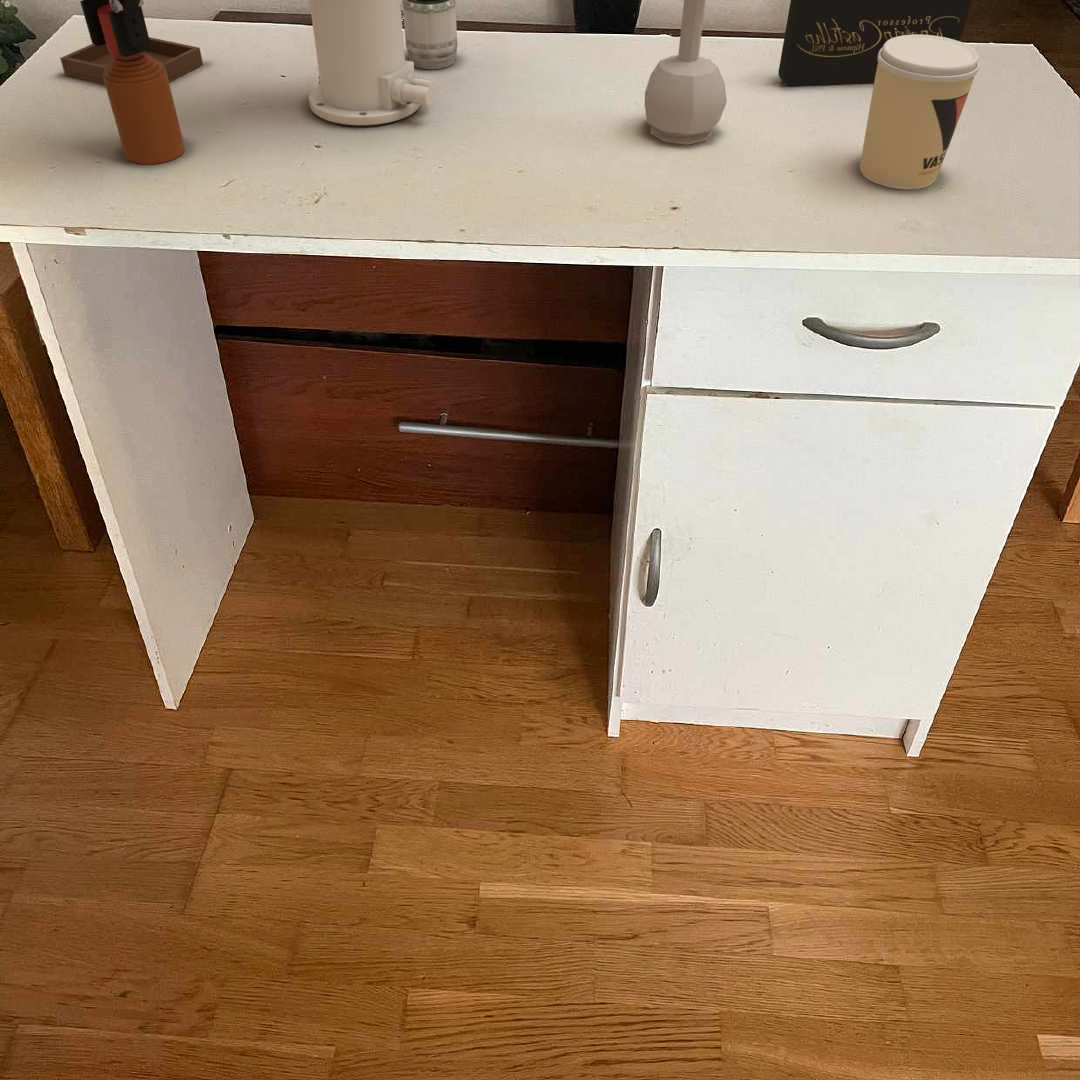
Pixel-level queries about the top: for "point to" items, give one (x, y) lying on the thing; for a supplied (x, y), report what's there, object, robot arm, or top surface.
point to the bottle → (143, 109)
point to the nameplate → (857, 35)
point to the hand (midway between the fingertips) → (121, 45)
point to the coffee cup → (915, 108)
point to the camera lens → (430, 32)
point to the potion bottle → (685, 87)
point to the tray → (170, 54)
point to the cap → (108, 29)
